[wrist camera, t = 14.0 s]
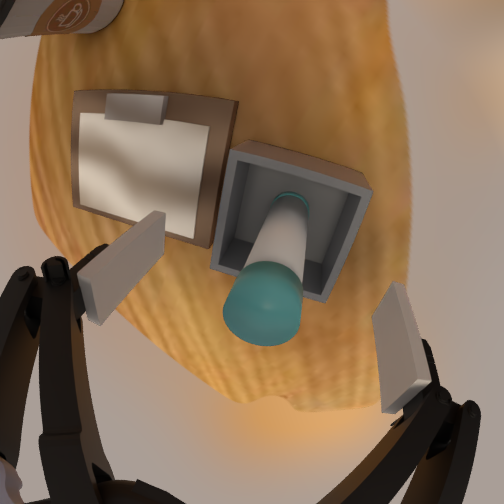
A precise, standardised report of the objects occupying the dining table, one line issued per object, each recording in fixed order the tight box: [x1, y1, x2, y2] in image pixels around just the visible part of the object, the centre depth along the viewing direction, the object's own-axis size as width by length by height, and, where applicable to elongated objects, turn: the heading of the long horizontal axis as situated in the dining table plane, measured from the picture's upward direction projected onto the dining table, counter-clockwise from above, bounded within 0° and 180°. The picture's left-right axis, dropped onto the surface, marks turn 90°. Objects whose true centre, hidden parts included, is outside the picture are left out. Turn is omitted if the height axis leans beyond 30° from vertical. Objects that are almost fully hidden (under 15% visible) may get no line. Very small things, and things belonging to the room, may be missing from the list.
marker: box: [223, 191, 309, 346], centre depth 17 cm, size 3×3×13 cm
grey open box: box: [210, 140, 373, 303], centre depth 21 cm, size 9×9×5 cm
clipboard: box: [71, 90, 239, 249], centre depth 23 cm, size 13×17×2 cm
